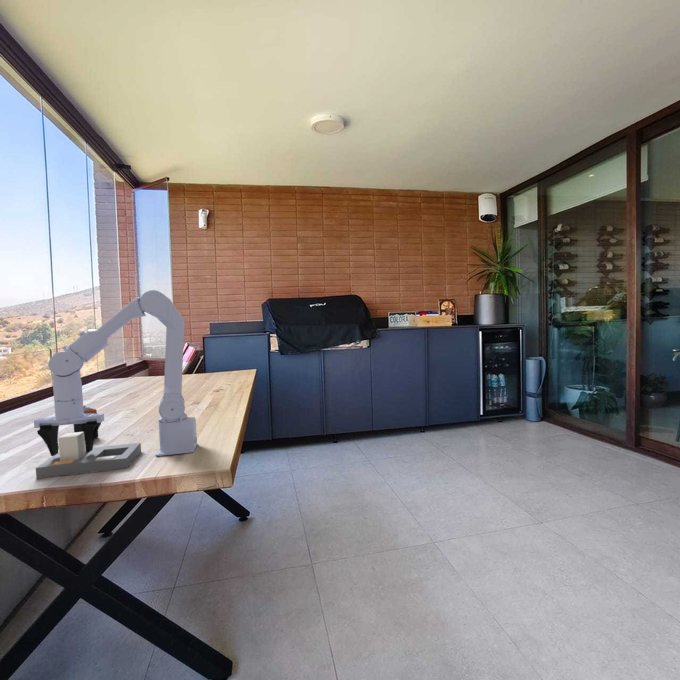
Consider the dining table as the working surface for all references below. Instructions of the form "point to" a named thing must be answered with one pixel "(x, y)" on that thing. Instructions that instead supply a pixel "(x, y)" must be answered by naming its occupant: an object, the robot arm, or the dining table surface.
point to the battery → (79, 426)
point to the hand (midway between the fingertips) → (72, 452)
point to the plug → (72, 446)
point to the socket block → (91, 461)
